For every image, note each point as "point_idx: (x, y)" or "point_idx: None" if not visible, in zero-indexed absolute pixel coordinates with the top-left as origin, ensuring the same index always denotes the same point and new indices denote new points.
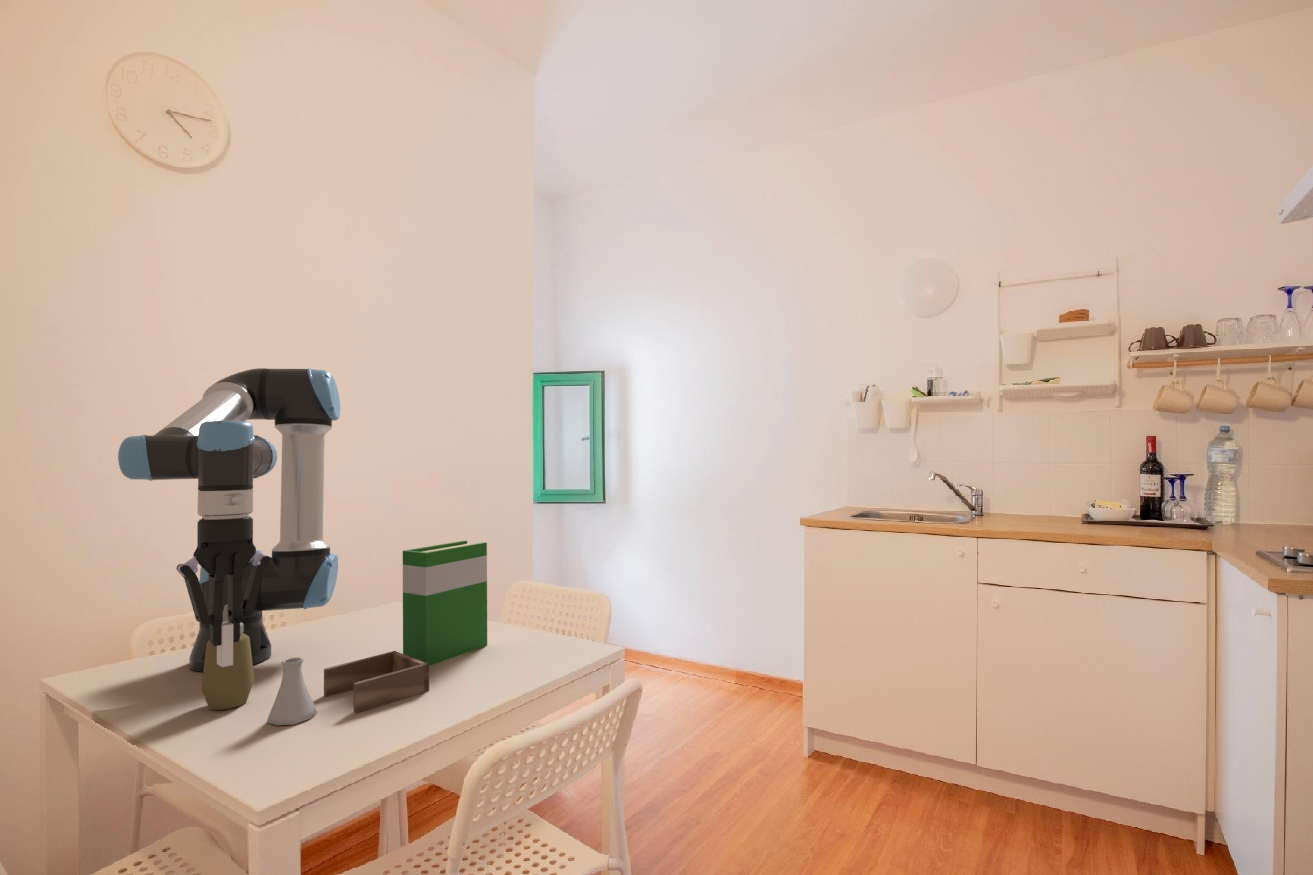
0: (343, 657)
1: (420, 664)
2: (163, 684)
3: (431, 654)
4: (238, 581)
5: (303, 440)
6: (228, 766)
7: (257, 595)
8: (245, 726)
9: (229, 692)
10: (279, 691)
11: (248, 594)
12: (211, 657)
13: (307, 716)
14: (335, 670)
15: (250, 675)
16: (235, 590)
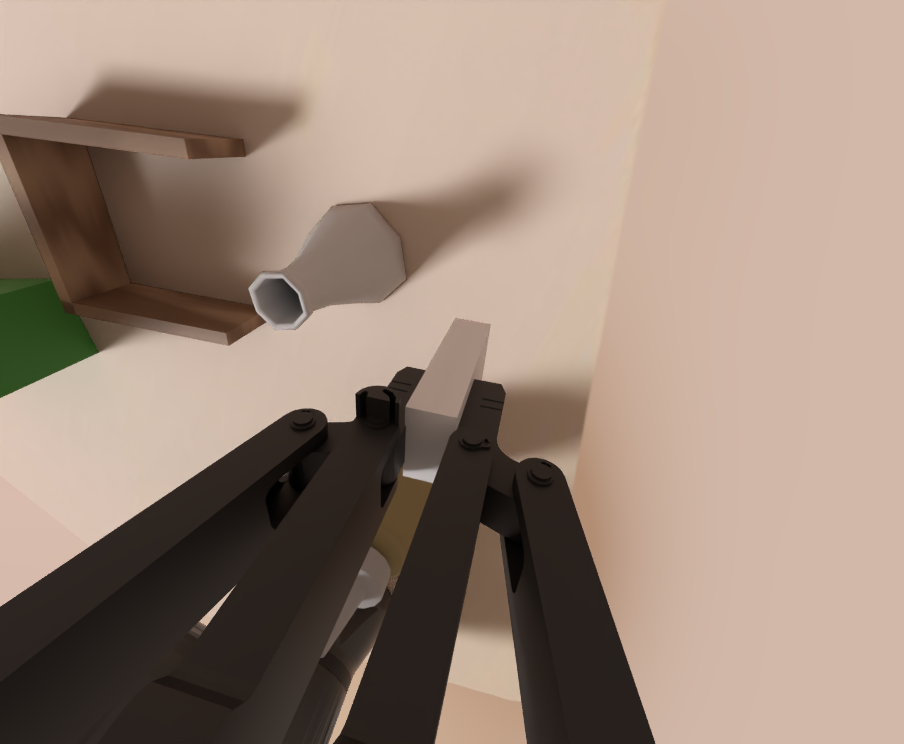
0: (192, 464)
1: (6, 140)
2: None
3: (18, 286)
4: (209, 664)
5: None
6: (583, 79)
7: (186, 482)
8: (441, 302)
9: None
10: (355, 284)
11: (231, 526)
12: (418, 517)
13: (336, 209)
14: (210, 325)
15: None
16: (289, 582)
